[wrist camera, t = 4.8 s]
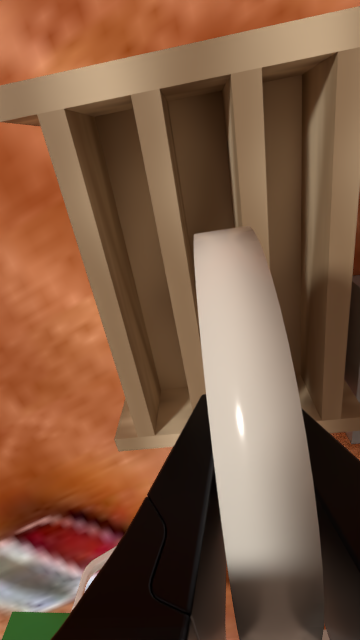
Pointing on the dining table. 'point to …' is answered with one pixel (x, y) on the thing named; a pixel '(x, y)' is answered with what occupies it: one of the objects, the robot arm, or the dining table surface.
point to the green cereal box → (33, 625)
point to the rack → (211, 200)
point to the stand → (353, 350)
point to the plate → (258, 442)
